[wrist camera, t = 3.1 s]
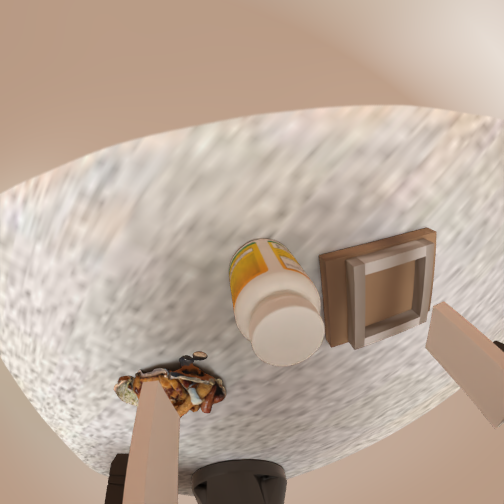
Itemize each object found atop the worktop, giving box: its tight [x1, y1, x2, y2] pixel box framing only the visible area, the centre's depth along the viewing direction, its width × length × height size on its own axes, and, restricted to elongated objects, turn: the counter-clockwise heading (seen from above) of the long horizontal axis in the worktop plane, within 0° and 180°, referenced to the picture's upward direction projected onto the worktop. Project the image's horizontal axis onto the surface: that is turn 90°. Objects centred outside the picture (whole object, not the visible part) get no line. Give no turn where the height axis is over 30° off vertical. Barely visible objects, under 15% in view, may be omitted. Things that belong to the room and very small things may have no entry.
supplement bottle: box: [229, 239, 325, 366], centre depth 19 cm, size 5×5×10 cm
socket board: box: [319, 228, 436, 350], centre depth 24 cm, size 12×9×3 cm
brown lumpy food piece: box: [114, 352, 226, 418], centre depth 25 cm, size 7×12×4 cm, turn 111°
